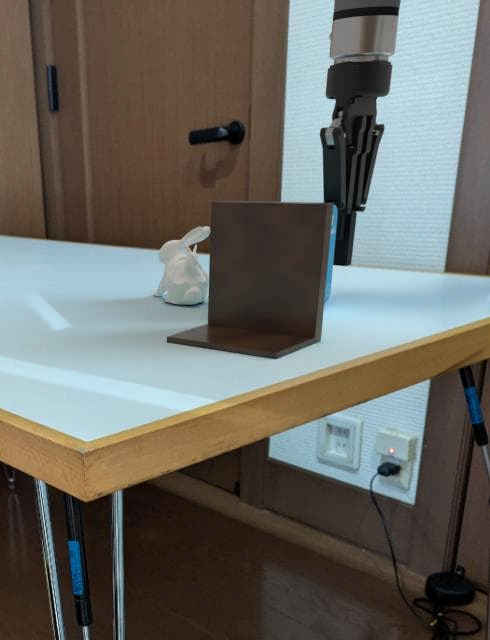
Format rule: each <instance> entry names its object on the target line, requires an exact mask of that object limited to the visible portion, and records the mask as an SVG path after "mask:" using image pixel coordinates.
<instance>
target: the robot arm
mask: <svg viewBox="0 0 490 640" xmlns="http://www.w3.org/2000/svg"><path fill="white" fill-rule="evenodd" d="M401 2H402V0H334V3H333V4H334V5H333V14H332V24H331V32H330V33H329V36H328V39H329V41H330V44H329V59H330V60H332V61H333V64H330V65H329V68H327V74H326V85H325V98H326V99H328V100H335V103H334V107H333V111H332V115H331V123H330V124H329V126H328V127H326V126H325V127H320V131H319V138H320V143H321V148H322V182H323V183H322V184H323V186H322V188H323V203H333V205H336V207H337V212H338V216H337V227H336V238H335V250H334V261H333V266H339V267H340V266H341V267H349V266H351V265H352V261H353V252H354V251H353V250H354V242H355V232H356V225H357V215H358V214H357V213H364V212H365V211H366V208H367V207H366V206H365V205H366V204H367V202H368V198H369V194H370V189H371V184H372V180H373V175H374V170H375V167H376V166H375V165H376V161H377V156H378V152H379V147H380V143H381V142H382V138H383V135H384V133H385V130H386V129H385V124H384V123H378V122H377V117H378V116H377V115H378V109H377V99H378V98H385V97H386V96H388V95H389V93H390V91H391V82H392V73H393V66H394V65H393V64H392V61H389V60H390V59H389V58H390V57H392V56H393V55H394V54H395V52H396V46H397V45H396V44H397V33H398V24H399V17H400V16H399V15H400V6H401Z"/></svg>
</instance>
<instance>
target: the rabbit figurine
mask: <svg viewBox="0 0 490 640" xmlns="http://www.w3.org/2000/svg"><path fill="white" fill-rule="evenodd" d="M210 227H211V226H208V225H207V226H206V225H205V226H197V227H195V228H193V229H191V230H189V231H188V232H187V234H185V235H184V236H183V237H182V238H181V239H172V240H168V241H166V242H165V243H163V245H162V246H161V247H160V249H159V250H158V253H157V257H158V261H159V262H160V263H162V264H164V269H163V274H162V277H161V279H160V281H159V284H158V285H157V289H156V291H155V292H151V293H150V295H151V296H155V297H162V296H163V299H164V302H166V303H169V304H174V305H188V306H193V305H197V304H198V303H199V304H200V303H203V302H205V300H206V297H207V294H208V293H209V272H207V271H206V270H204V268H203V266H202V264H201V263H199V262H198V259H199V255H198V254H197V248H198V244H197V243H200V242H202V241H204V240H206V239H207V238H208V237H210ZM191 245H194V248H193V250H192V249H191V248H190V246H191Z"/></svg>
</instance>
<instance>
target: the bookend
mask: <svg viewBox="0 0 490 640" xmlns="http://www.w3.org/2000/svg"><path fill="white" fill-rule="evenodd" d="M332 214H333V203H324V202H317V201H316V202H314V201H313V202H312V201H260V200H257V201H256V200H214V201H211V202H210V226H209V227H210V234H209V261H208V262H209V265H208V278H209V284H208V299H207V301H208V303H207V323H206V324H202V325H200V326H196V327H193V328H190V329H186V330H183V331H180V332H177V333H174V334H170V335H168V336H166V343H167V342H168V343H174V344H179V345H186V346H192V347H193V346H194V347H198V348H206V349H210V350H211V349H212V350H218V351H225V352H231V353H238V354H245V355H251V356H255V357H263V358H270V359H279V358H281V357H283V356H286V355H288V354H292V353H293V352H295V351H298V350H301V349H304V348H306V347H308V346H311V345H313V344H316V343H319V342H321V341H322V332H323V320H324V311H325V310H324V309H325V303H324V301H325V290H326V279H327V268H328V257H329V247H330V236H331V225H332Z"/></svg>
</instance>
